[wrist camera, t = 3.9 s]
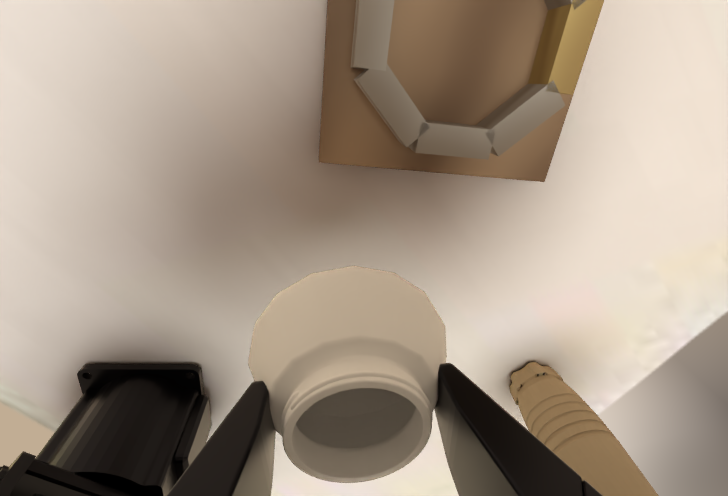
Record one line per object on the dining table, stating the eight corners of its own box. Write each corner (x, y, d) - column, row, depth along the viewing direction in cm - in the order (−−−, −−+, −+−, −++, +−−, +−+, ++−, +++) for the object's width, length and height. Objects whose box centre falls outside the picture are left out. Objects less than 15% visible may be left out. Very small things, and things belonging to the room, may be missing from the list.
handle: (485, 358, 24) (700, 721, 10) (577, 342, 24) (900, 674, 11) (483, 408, 26) (659, 762, 13) (567, 393, 26) (826, 723, 13)
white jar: (473, 316, 10) (324, 222, 8) (528, 404, 7) (326, 291, 6) (366, 424, 11) (220, 363, 10) (379, 530, 9) (183, 470, 7)
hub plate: (318, 156, 17) (318, 170, 15) (336, -164, 12) (341, -223, 10) (531, 175, 19) (563, 190, 16) (617, -101, 14) (679, -139, 12)
